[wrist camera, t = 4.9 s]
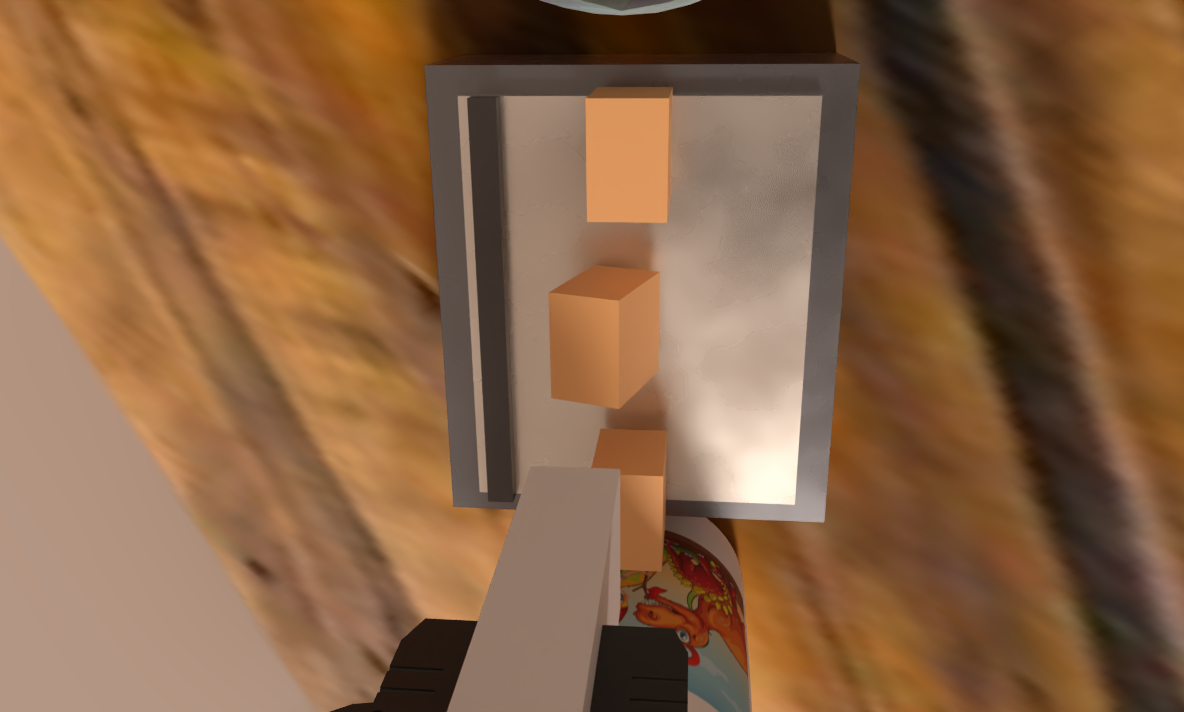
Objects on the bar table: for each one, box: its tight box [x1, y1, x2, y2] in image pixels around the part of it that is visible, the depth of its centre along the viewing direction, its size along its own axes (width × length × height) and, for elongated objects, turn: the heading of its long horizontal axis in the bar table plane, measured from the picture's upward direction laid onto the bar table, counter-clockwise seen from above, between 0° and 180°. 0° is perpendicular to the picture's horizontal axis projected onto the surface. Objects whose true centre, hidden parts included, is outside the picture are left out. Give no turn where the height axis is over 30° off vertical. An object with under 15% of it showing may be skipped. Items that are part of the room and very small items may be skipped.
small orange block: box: [548, 265, 660, 409], centre depth 28 cm, size 2×3×3 cm, turn 2°
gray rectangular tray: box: [424, 53, 860, 522], centre depth 32 cm, size 12×14×6 cm
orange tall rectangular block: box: [585, 87, 673, 223], centre depth 26 cm, size 2×3×3 cm, turn 1°
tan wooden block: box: [592, 429, 667, 572], centre depth 29 cm, size 2×3×3 cm, turn 1°
